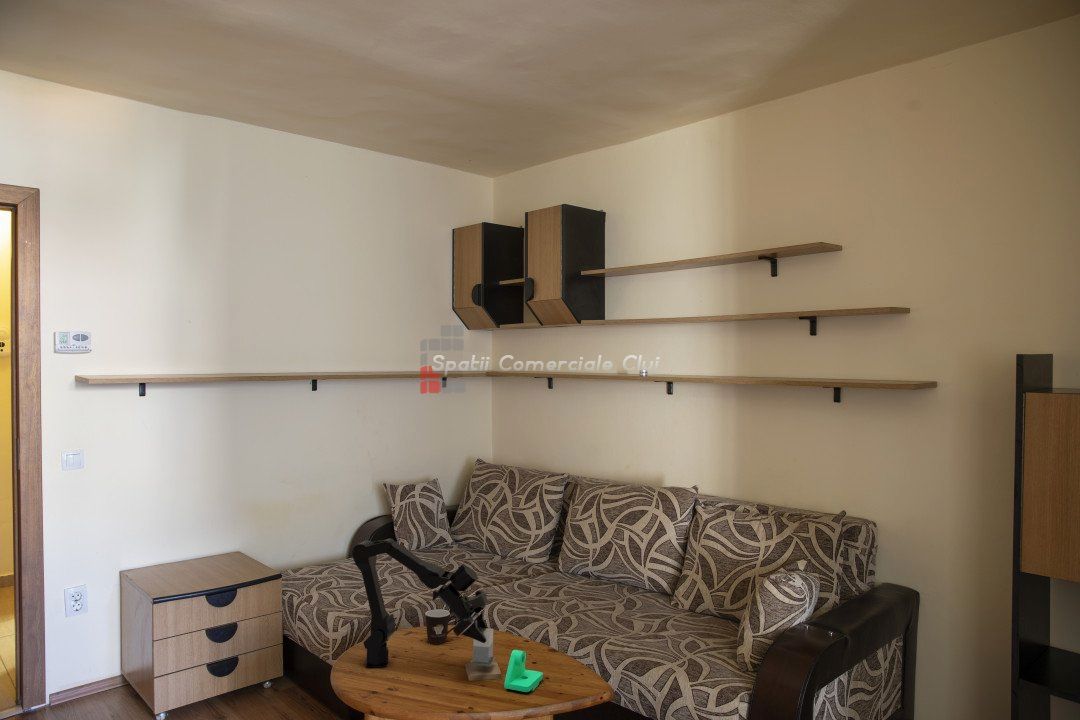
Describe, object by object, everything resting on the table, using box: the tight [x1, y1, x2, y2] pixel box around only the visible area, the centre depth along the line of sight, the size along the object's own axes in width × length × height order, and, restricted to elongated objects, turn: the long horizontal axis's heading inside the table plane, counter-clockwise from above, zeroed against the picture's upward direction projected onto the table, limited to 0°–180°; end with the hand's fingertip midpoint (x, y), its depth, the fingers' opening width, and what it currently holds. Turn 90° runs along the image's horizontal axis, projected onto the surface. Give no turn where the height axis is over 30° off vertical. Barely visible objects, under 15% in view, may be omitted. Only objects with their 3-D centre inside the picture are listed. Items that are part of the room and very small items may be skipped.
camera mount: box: [503, 649, 544, 693], centre depth 221 cm, size 12×8×10 cm, turn 157°
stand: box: [465, 661, 502, 682], centre depth 230 cm, size 10×10×2 cm
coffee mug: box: [424, 609, 458, 646], centre depth 257 cm, size 12×9×10 cm
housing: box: [469, 627, 496, 666], centre depth 230 cm, size 6×6×10 cm
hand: (487, 639), depth 230 cm, fingers closed on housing, 5 cm apart
